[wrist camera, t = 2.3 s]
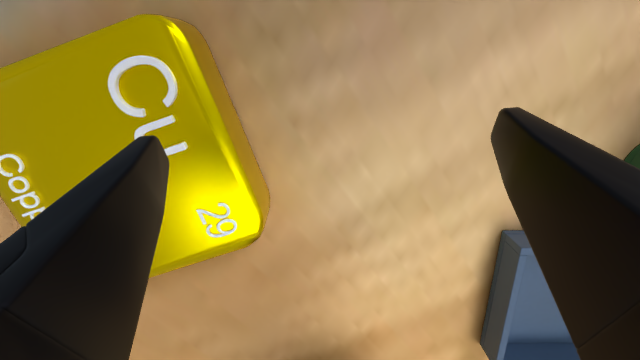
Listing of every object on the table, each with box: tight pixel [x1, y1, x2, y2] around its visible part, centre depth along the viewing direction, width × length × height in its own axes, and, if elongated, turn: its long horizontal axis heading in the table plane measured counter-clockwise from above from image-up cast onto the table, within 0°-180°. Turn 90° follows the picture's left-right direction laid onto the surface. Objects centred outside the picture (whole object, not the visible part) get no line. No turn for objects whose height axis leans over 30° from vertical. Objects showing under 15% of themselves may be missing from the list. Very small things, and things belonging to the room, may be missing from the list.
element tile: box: [0, 14, 270, 278], centre depth 24 cm, size 15×15×5 cm
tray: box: [480, 230, 580, 360], centre depth 29 cm, size 11×16×3 cm
